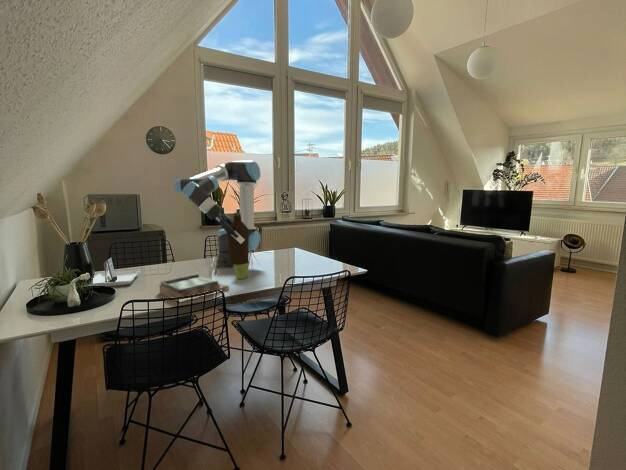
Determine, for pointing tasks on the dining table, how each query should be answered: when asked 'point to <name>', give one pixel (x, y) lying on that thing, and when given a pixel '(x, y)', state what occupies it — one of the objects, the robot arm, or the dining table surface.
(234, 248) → the olive oil
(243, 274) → the plant pot
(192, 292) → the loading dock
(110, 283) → the salad plate
